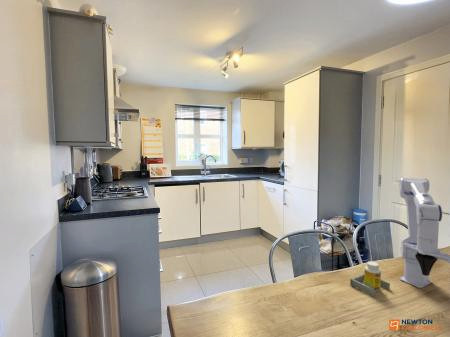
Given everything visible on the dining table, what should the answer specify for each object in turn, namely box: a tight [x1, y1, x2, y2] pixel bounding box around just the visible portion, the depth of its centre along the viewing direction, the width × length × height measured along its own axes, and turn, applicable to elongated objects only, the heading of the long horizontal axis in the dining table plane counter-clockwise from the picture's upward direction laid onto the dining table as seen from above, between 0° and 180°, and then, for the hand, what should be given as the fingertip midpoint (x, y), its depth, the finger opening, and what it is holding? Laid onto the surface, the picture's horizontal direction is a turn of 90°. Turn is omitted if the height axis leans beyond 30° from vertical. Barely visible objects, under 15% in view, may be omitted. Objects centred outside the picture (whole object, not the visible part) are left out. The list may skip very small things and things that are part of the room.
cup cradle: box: [349, 272, 391, 298], centre depth 101 cm, size 11×10×2 cm
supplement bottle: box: [363, 261, 382, 292], centre depth 100 cm, size 6×6×10 cm
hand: (425, 274), depth 90 cm, fingers closed
